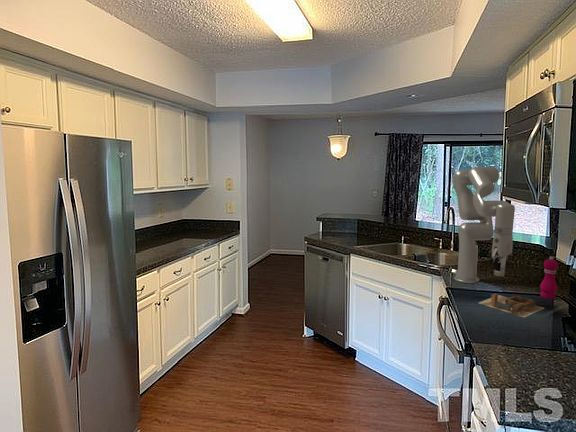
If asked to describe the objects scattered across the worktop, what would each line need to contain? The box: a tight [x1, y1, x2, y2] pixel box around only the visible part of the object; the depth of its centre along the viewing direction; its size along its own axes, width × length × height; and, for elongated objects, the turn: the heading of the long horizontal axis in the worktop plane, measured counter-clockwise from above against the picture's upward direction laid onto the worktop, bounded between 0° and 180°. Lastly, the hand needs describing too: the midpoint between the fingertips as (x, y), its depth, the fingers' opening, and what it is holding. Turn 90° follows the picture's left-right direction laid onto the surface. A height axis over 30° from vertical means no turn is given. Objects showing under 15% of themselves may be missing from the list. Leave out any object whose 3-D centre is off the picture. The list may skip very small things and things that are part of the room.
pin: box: [490, 293, 511, 310], centre depth 193 cm, size 8×2×5 cm, turn 36°
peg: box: [493, 254, 507, 277], centre depth 201 cm, size 4×4×10 cm
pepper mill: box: [539, 256, 559, 300], centre depth 210 cm, size 7×7×20 cm
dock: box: [478, 294, 545, 318], centre depth 197 cm, size 21×18×4 cm
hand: (499, 268), depth 202 cm, fingers closed on peg, 4 cm apart
